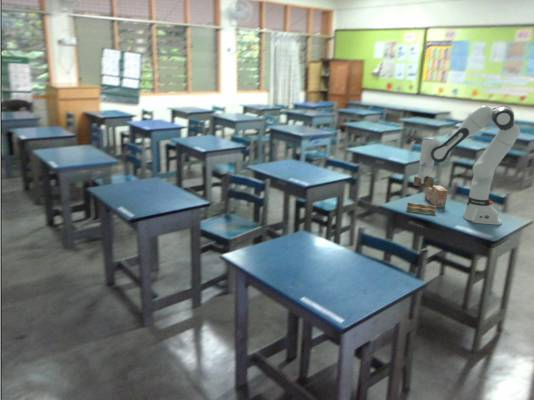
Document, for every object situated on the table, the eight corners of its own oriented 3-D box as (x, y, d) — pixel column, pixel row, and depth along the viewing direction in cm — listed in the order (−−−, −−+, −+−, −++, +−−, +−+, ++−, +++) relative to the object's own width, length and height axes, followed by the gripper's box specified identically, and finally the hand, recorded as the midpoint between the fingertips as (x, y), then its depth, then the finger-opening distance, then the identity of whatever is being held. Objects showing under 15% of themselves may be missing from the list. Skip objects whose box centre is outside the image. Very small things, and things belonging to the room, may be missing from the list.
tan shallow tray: (434, 210, 297) (435, 205, 296) (435, 214, 288) (435, 210, 287) (407, 206, 302) (407, 202, 301) (406, 210, 293) (407, 206, 292)
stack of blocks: (424, 197, 324) (426, 181, 320) (432, 198, 324) (435, 181, 320) (436, 207, 303) (439, 190, 300) (445, 207, 304) (448, 190, 300)
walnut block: (413, 185, 294) (414, 176, 292) (414, 183, 297) (415, 175, 295) (432, 187, 288) (433, 179, 286) (433, 186, 292) (434, 177, 290)
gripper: (426, 165, 278) (423, 186, 282) (435, 160, 294) (433, 180, 298) (416, 164, 281) (413, 184, 286) (426, 159, 297) (423, 178, 301)
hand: (423, 182), depth 292 cm, fingers closed on walnut block, 4 cm apart
